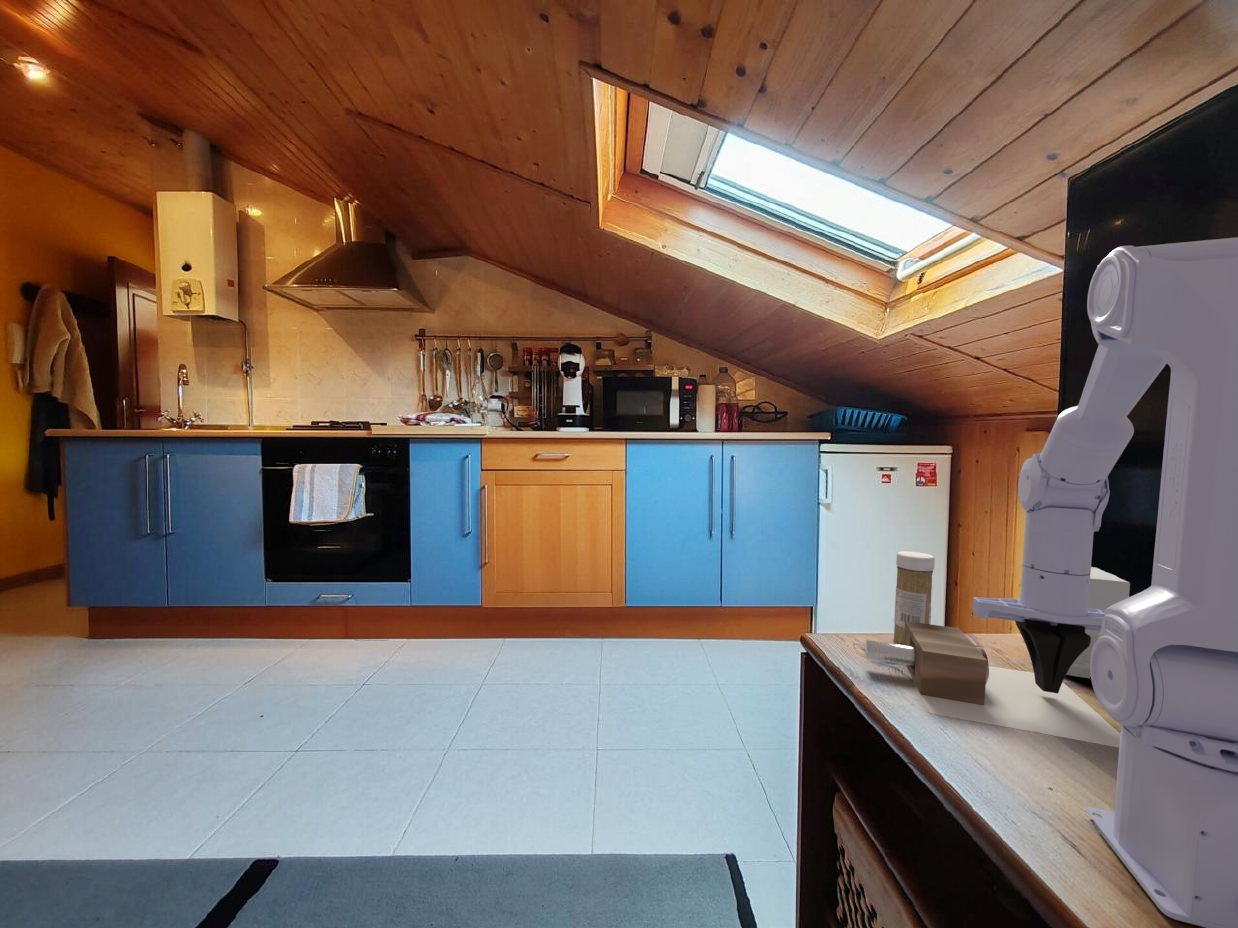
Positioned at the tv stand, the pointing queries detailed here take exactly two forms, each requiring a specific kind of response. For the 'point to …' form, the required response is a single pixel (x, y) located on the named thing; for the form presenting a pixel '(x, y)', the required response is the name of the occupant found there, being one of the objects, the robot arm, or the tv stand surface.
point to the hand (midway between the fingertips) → (1046, 688)
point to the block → (946, 663)
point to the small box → (1101, 596)
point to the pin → (899, 653)
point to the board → (1029, 709)
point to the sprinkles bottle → (912, 591)
